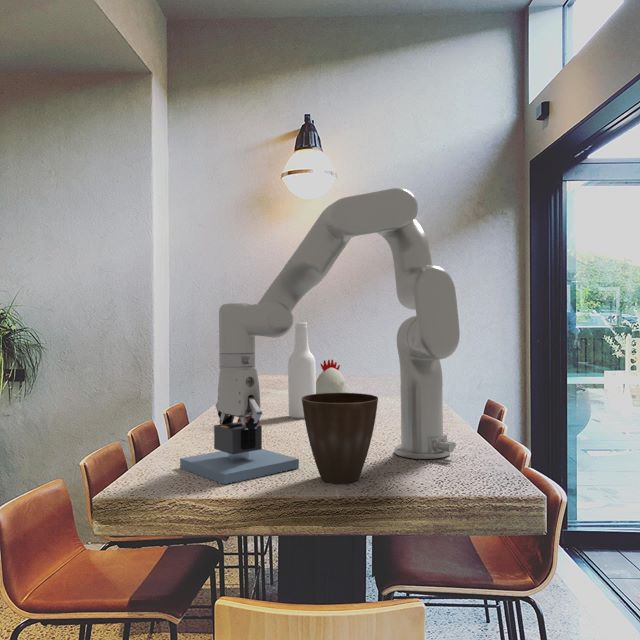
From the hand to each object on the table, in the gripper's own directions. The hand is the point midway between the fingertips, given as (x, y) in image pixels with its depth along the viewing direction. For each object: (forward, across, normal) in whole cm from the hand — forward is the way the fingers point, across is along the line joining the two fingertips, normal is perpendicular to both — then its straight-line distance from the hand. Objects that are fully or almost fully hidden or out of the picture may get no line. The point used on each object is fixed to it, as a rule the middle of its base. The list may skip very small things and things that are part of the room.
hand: (237, 445), depth 128 cm
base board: (+5, 0, 0) cm, 5 cm away
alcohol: (+5, +42, -51) cm, 66 cm away
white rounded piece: (+5, +69, -87) cm, 111 cm away
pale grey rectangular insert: (+3, 0, 0) cm, 3 cm away
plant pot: (+5, -21, -10) cm, 24 cm away
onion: (+5, +25, -19) cm, 32 cm away
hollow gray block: (+1, 0, 0) cm, 1 cm away
